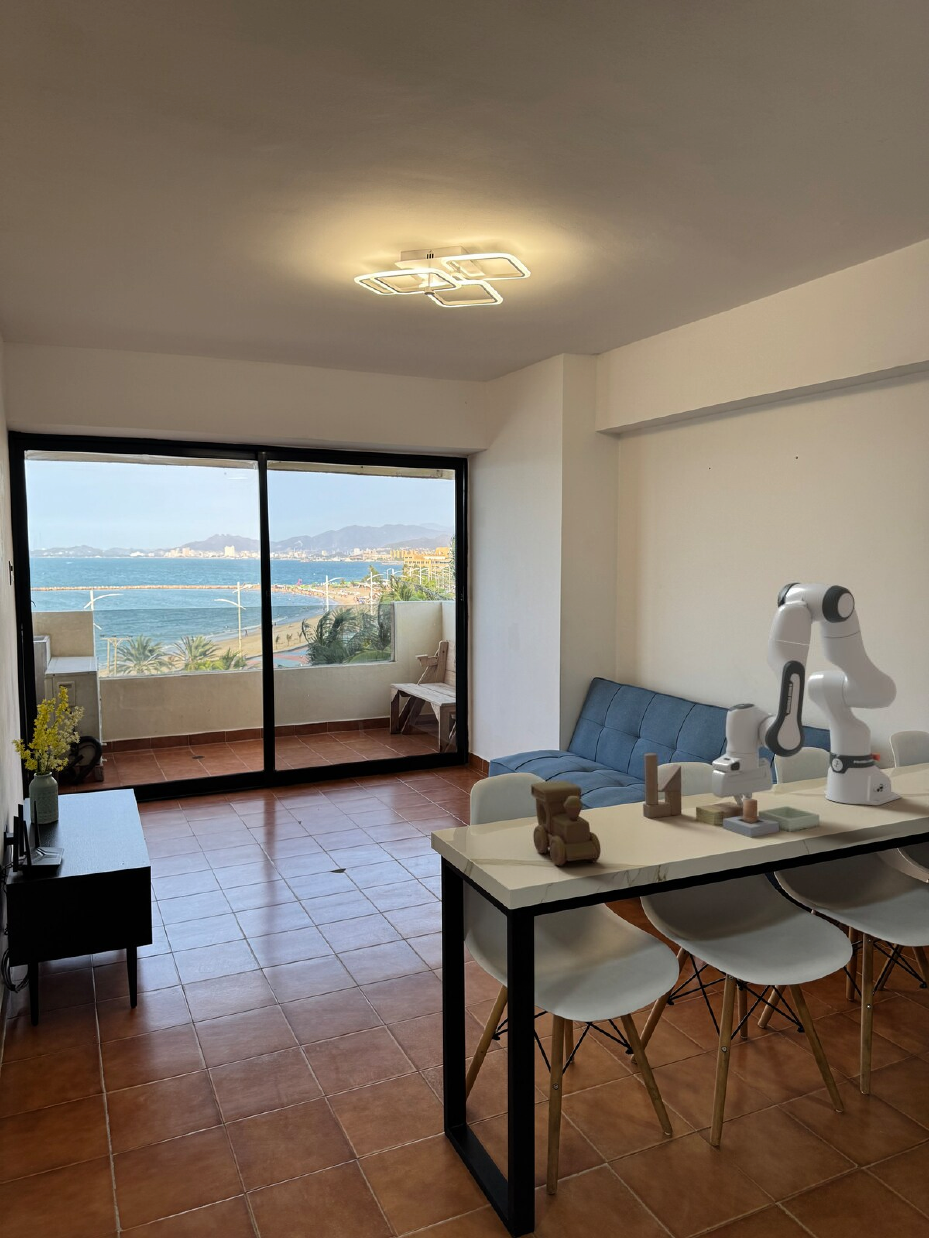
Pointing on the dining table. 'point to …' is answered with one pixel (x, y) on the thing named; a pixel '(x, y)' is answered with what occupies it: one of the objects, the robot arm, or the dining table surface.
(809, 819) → the tray
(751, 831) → the socket block
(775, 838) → the dining table surface
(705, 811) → the olive green block
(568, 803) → the wooden toy train
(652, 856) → the dining table surface
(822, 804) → the dining table surface
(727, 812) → the brown flat block
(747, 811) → the dowel
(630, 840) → the dining table surface
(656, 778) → the wooden block
